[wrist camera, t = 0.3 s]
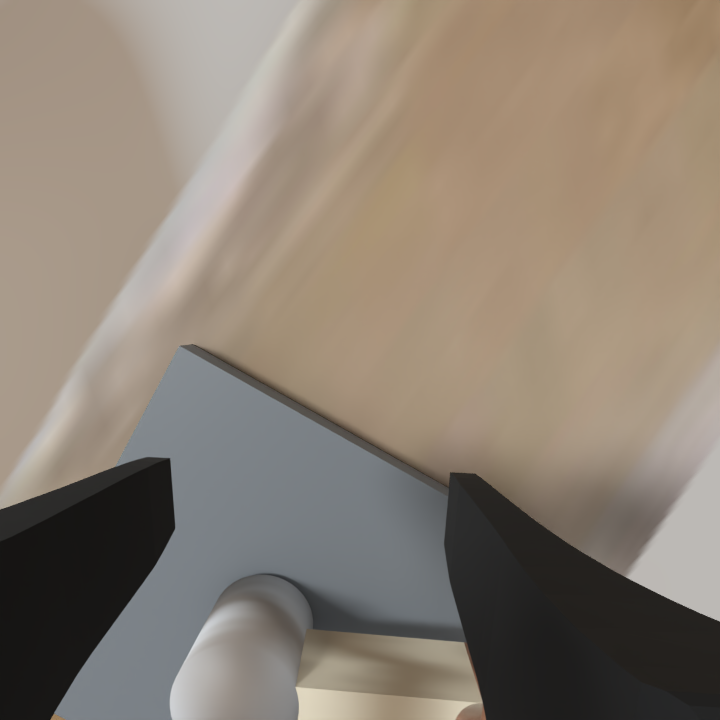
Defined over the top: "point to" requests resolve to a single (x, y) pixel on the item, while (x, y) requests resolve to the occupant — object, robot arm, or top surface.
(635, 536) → the top surface
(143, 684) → the latch plate
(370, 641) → the grey beige handled piece
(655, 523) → the top surface
